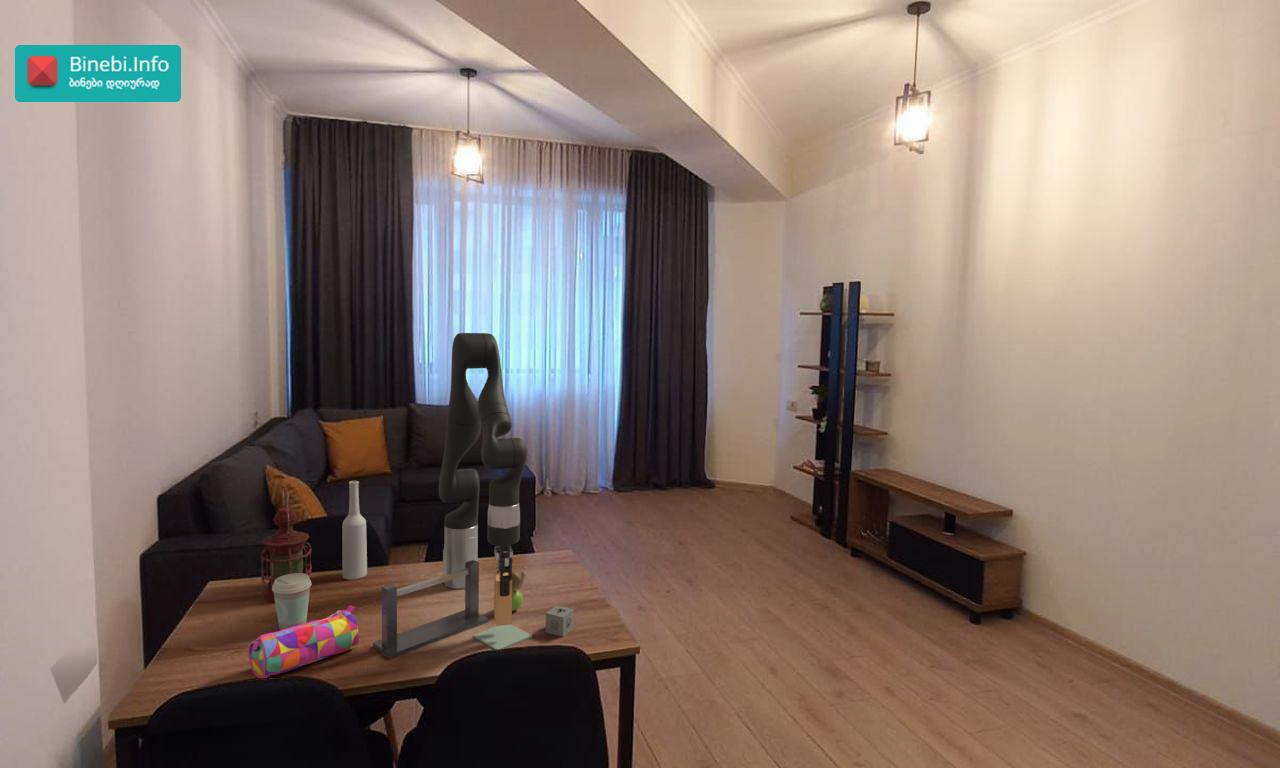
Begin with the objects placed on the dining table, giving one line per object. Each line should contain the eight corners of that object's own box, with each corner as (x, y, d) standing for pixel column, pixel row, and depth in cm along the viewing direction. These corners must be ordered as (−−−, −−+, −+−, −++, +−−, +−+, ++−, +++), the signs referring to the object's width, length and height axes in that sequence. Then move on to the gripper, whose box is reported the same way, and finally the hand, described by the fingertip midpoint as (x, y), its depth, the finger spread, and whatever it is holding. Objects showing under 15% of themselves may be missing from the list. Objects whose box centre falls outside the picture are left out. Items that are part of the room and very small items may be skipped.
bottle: (350, 570, 197) (349, 478, 194) (371, 571, 196) (370, 479, 193) (337, 578, 190) (336, 483, 188) (359, 580, 189) (358, 485, 187)
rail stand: (372, 646, 152) (372, 583, 151) (469, 612, 171) (469, 556, 170) (389, 659, 147) (389, 594, 145) (487, 622, 166) (488, 564, 165)
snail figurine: (521, 615, 170) (522, 571, 169) (498, 612, 171) (498, 568, 170) (529, 607, 175) (529, 563, 174) (506, 604, 177) (507, 561, 176)
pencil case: (343, 636, 157) (343, 600, 156) (364, 649, 151) (364, 611, 150) (244, 673, 139) (243, 632, 139) (264, 689, 134) (263, 647, 133)
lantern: (316, 597, 177) (314, 488, 174) (265, 608, 170) (262, 494, 167) (307, 582, 187) (305, 479, 184) (258, 592, 180) (255, 484, 177)
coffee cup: (274, 621, 163) (273, 574, 162) (313, 616, 166) (312, 570, 165) (270, 637, 155) (269, 587, 154) (311, 631, 158) (310, 583, 157)
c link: (494, 616, 160) (494, 572, 159) (508, 614, 161) (509, 571, 160) (496, 626, 155) (496, 581, 154) (511, 624, 156) (512, 579, 155)
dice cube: (573, 628, 164) (573, 609, 164) (563, 637, 160) (563, 617, 159) (556, 624, 166) (556, 605, 166) (545, 632, 162) (545, 613, 161)
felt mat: (473, 636, 158) (473, 635, 158) (507, 623, 166) (507, 621, 166) (497, 651, 152) (497, 649, 152) (532, 636, 159) (532, 635, 159)
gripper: (485, 514, 162) (484, 580, 163) (490, 532, 148) (489, 604, 150) (515, 512, 164) (515, 577, 165) (524, 529, 150) (523, 601, 152)
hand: (503, 590), depth 157 cm, fingers closed on c link, 5 cm apart
